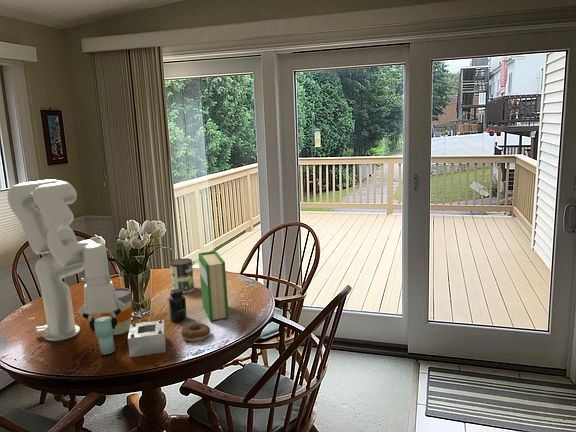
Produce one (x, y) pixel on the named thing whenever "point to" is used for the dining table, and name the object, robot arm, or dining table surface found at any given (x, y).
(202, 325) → the donut
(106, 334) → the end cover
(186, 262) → the coffee can
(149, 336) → the housing
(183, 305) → the supplement bottle
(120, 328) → the reusable coffee cup
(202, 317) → the dining table surface
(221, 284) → the hardback book
